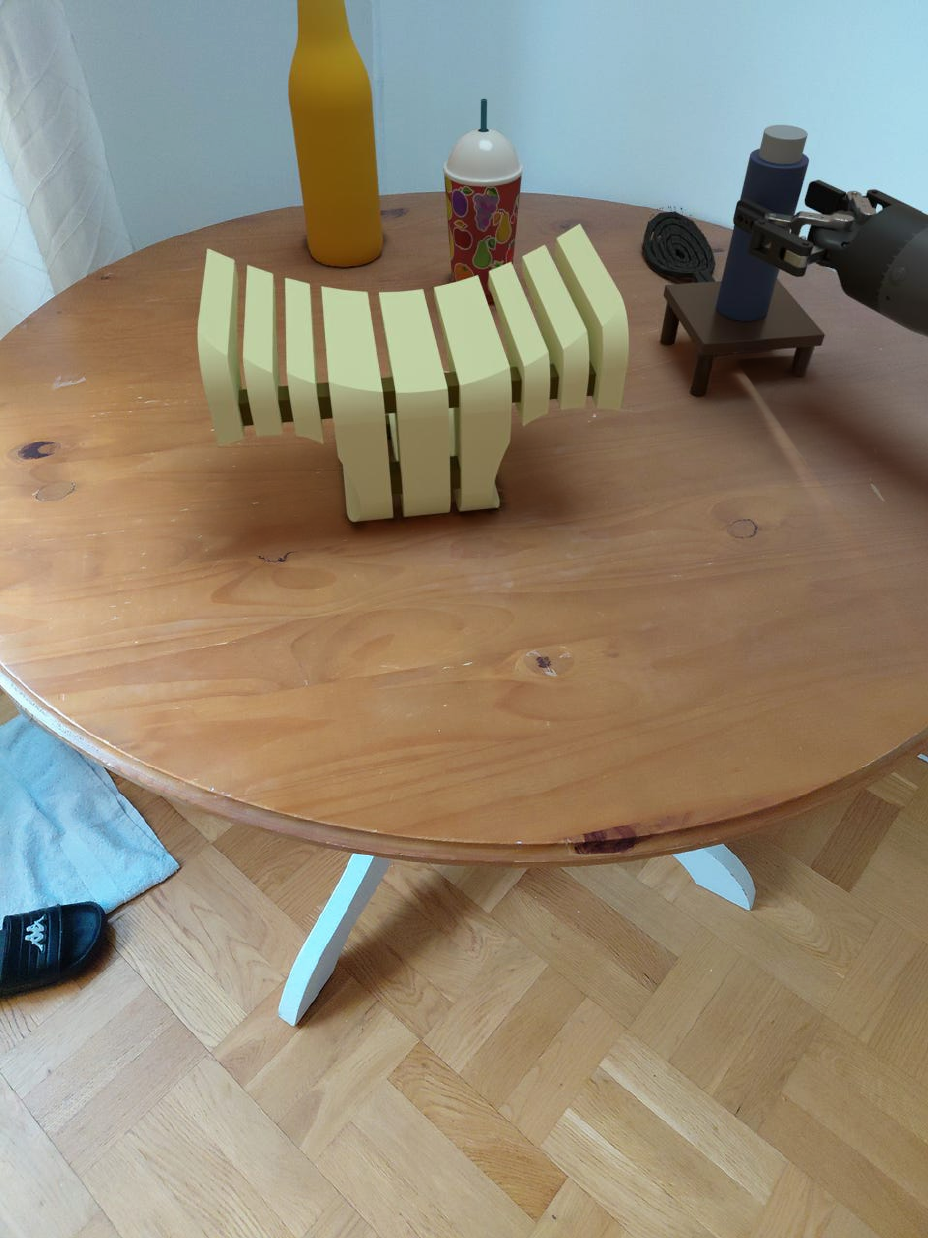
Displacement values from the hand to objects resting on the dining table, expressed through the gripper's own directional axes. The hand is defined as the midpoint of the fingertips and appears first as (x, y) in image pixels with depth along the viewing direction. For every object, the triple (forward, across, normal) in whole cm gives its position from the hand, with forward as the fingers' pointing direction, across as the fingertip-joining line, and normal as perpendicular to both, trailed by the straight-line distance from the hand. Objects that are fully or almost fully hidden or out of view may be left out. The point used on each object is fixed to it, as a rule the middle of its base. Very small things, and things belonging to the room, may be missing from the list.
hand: (774, 200), depth 77 cm
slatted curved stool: (0, -37, -17) cm, 40 cm away
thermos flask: (0, 0, -10) cm, 11 cm away
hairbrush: (+17, +8, -17) cm, 25 cm away
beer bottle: (+44, -24, -17) cm, 53 cm away
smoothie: (+26, -15, -17) cm, 35 cm away
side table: (0, 0, -16) cm, 17 cm away
